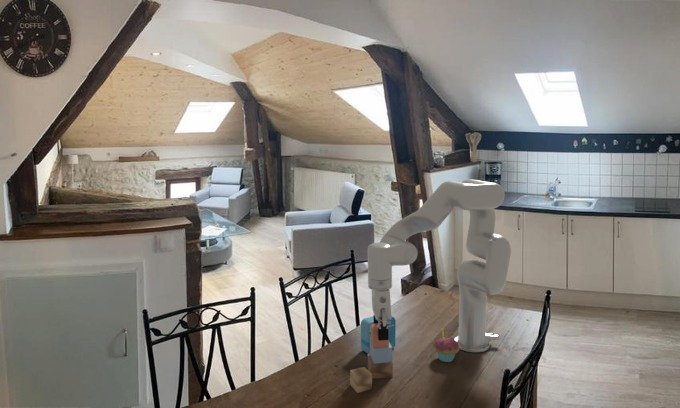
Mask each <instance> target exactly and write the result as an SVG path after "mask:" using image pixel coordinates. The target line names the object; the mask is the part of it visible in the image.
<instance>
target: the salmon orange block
mask: <svg viewBox="0 0 680 408" xmlns="http://www.w3.org/2000/svg"><path fill="white" fill-rule="evenodd" d="M378 328H379V324H378V323H375V324H371V343H372V346H373V348H384V347H389V339H388V340H381V341H379V340H378ZM388 334H389V328H388Z"/></svg>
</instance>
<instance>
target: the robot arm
mask: <svg viewBox="0 0 680 408" xmlns="http://www.w3.org/2000/svg"><path fill="white" fill-rule="evenodd" d="M505 193H506V192H505V190H504V188H503V186H502V185H500V184H499V183H497V182H490V181H484V180H479V179H473V178H472V179H464V180H462V182H460V181H459V182H458V181H453V180H452V181H451V180H450V181H448V180H447V181H444V182H442V183H441V184H439V186H438V187H437V188H436V189H435V190H434V191H433V193H432V194H431V195H430V196H429V197H428V198H427V200H426V201H425V202H424V203H422V205H421V206H420V207H419V209H417V210H416V211H415V212H411V214H410V213H409V215H407V216H405V217H403V218H401V219H400V220H397V221H396V222H395V223H394V224H393V225H391V227H390V228H389V229H388V230H387V231H386V232H385V234H384V235H383V236H382V237H381V239H380V241H379V242H378V241H377V242H373V243H371V244H370V243H369V245H368V246H367V254H366V255H367V287H368V289H370V290H371V305H372V306H371V307H372V308H371V309H372V313H373V315H372V316H374V324H375V323H378V324H379V328H378V340H379V341H381V340H388V339H389V334H388V322H387V318H388V320H391V316H392V305H391V304H392V303H391V301H392V300H391V292H390V289H392V287H393V267H394V266H395V267H396V266H409V265H411V264H413V263H414V262H415V261H416V260H417V258H418V254H419V253H418V252H419V251H418V249H417V247H416V246H415V245H414V244H413V243H411V242H410V241H407V239H409V238H410V237H412V236H413V235H416V234H418V233H423V232H429V231H433V230H436V229H437V228H439V227H440V226H441V225H442V224H443V222H444V221H445V220H446V219H447V218H448V216H449V215H450V214H452V212H453V210H455V209H457V210H458V209H459V210H463V211H468V212H469V216H470V217H469V225H468V230H467V236H466V242H465V243H466V245H465V247H466V251H467V253H469V254H470V255H472V256H474V257H477V258H478V259H482V260H485V262H484V261H480V260H478V259H474V258H469V259H468V258H467V259H464V260H463V261H461V263H460V264H459V265H458V266H457V267H458V268H457V270H456V271H457V272H456V274H457V276H456V278H457V282H458V287H459V299H458V300H459V303H458V304H459V305H458V307H459V310H458V330H457V331H458V334H457V336H455V337H454V339H453V340H455V341H456V342H457V343H458V345H459V350H461V351H465V352H468V353H482V352H485V351H487V350H488V351H489V349H490V346H491V343H490V342H491V341H493V342H494V341H500V336H499V334H493V332H487V313H488V312H487V309H488V308H487V307H488V297H487V295H490V296H495V295H497V294H500V293H501V292H502V291H503V289H504V288H505V285H506V281H507V276H508V272H509V271H508V270H509V266H510V265H509V264H510V259H511V253H512V252H511V251H512V248H511V244H510V241H509V240H508V239H507V237H505V236H503V235H501V234H497V233H495V225H496V213H495V209H497V208H498V207H500V206H501V205H502V204H503V202H504V200H505V197H506V195H505Z"/></svg>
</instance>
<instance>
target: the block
mask: <svg viewBox="0 0 680 408" xmlns="http://www.w3.org/2000/svg"><path fill="white" fill-rule="evenodd" d="M349 384H350V386H351V388H352V389H353V390H354V391H355V392H356V393H357V394H359V393H364V392H366V391H370V390H372V389H373V379H372V374H371V373H370V372H369V370H368V368H366V367H365V366H361V367H358V368H354V369H350V370H349Z"/></svg>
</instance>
